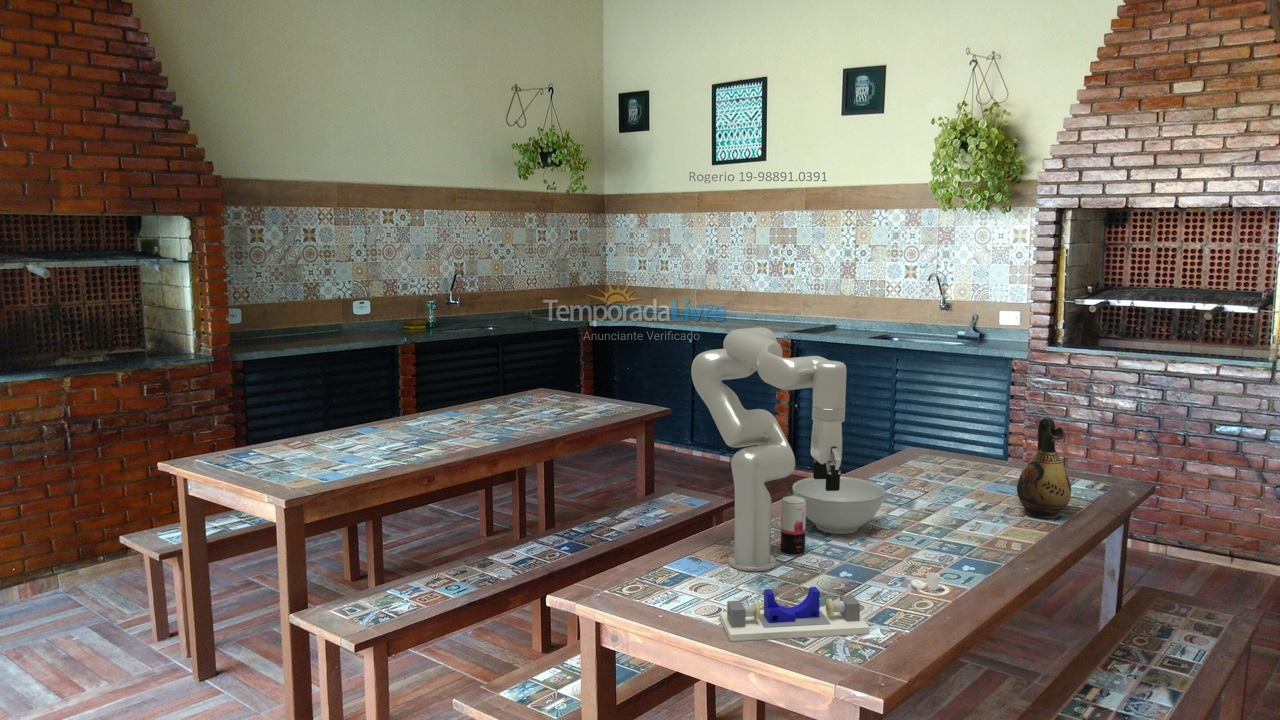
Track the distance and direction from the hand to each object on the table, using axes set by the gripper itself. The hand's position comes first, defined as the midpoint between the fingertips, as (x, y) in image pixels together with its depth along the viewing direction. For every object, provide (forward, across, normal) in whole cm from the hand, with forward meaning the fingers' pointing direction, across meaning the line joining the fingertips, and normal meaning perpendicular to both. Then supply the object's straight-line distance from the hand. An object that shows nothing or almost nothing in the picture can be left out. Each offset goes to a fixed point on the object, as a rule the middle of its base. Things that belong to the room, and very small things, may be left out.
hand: (826, 484), depth 221 cm
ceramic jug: (+28, -56, +87) cm, 107 cm away
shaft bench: (+28, +15, -11) cm, 34 cm away
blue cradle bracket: (+26, +14, -11) cm, 32 cm away
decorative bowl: (+29, -50, +20) cm, 61 cm away
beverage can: (+28, -31, +1) cm, 42 cm away
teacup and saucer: (+29, -5, +28) cm, 41 cm away
